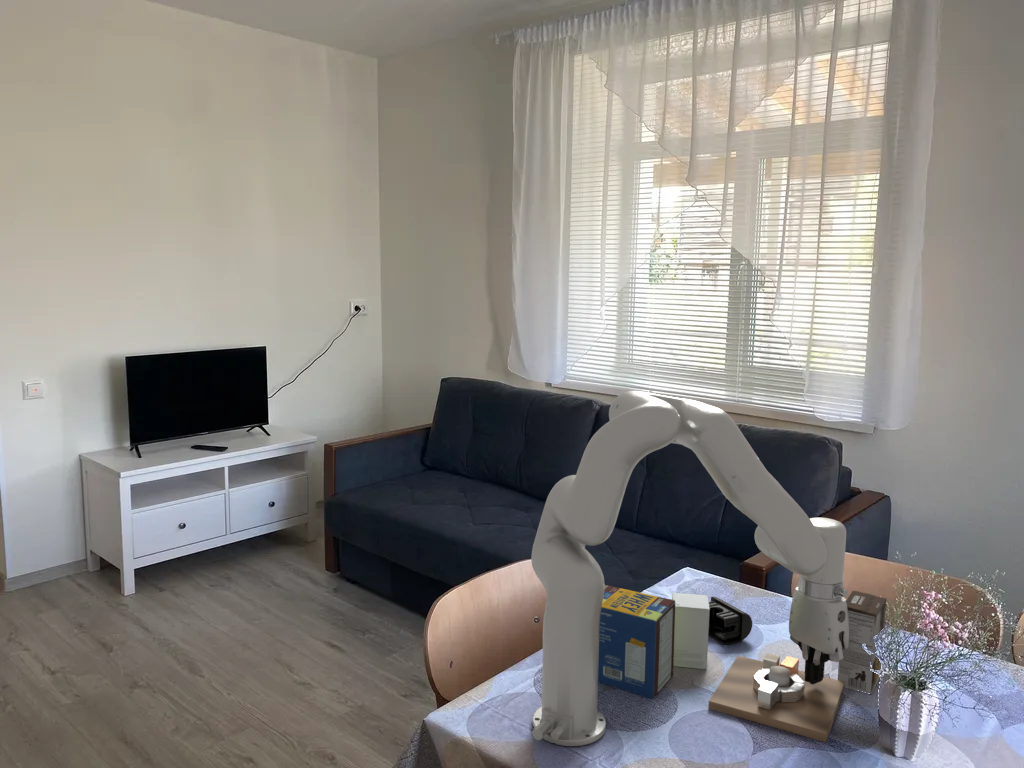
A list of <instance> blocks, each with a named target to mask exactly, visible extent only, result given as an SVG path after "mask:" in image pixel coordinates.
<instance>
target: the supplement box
mask: <svg viewBox="0 0 1024 768" xmlns="http://www.w3.org/2000/svg"><path fill="white" fill-rule="evenodd" d="M671 600H675V630H674V662H673V667H679V668H690V669H698V670H699V669H700V670H707V667H708V652H709V649H708V648H709V636H708V631H709V611H710V608H709V602H710V601H709V595H706V594H695V593H694V594H693V593H680V592H679V593H678V592H672V593H671Z"/></svg>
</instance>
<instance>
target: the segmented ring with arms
mask: <svg viewBox="0 0 1024 768" xmlns="http://www.w3.org/2000/svg"><path fill="white" fill-rule="evenodd" d="M799 661H800V659H799V658H796V657H792V656H788V655H786V657H785V658H784V659H783V660H782V661H781V663H779V666H782V667H785V668H787V669H788V670H789V671H790V680H789V687H781V688H780V687H778V684H777V683H774V682H770V681H769V669H761V670H759V671H758V672H757V673H756V674H755V675H754V682H753V688H754V689H755V690H756V691H757V692H758V705H757V706H758V707H761V708H764V709H767V710H770V709H771V708H772V707H773V706H774V704H775V703H776V702H779V701H781V702H782V703H785V702H797V700H798V701H799V700H800V699H801V698H802V696H803V695H804V688H805V684H804V681H803V680H802V679H801V678H800V677H799V676H798V670H799V665H800V662H799Z"/></svg>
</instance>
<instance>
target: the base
mask: <svg viewBox="0 0 1024 768" xmlns="http://www.w3.org/2000/svg"><path fill="white" fill-rule="evenodd" d="M780 659H781V656H780V655H777V654H773V653H769V652H766V654H765V656H764V658H763V661H762V660H758V659H754V658H749V657H747V656H746V657H745V656H742V655H737V657H736V658H735V659H734V661H733V663H732V664H731V666H730V667H729V669H728V671H727V672H725V673H726V674H725V676H724V677H723V678H722V679H721V681H720V682H719V684H718V686H717V688H716V689H715V691H714V692H713V694H712V696H710V699H709V700H708V709H709V710H712V711H715V712H719V713H722V714H726V715H730V716H733V717H736V718H739V719H743V720H748V721H750V722H753V723H754V722H755V723H757V724H761V725H764V726H767V727H771V728H774V729H775V728H776V729H778V730H782V731H785V732H788V733H791V734H796V735H798V736H801V737H807V738H809V739H813V740H817V741H819V742H823V743H827V741H828V739H829V736H830V733H831V729H832V726H833V723H834V720H835V718H836V714H837V712H838V709H839V706H840V703H841V700H842V697H843V694H844V690H845V687H844V684H845V682H843V681H839V680H838V679H834V678H830V677H826V676H824V677H823V680H822V681H821V682H818V683H816V684H813V685H812V684H810V683H809V682H807V681H805V671H803V670H799V669H798V676H799V677H800V678H801V679H802V680H803V681H804V684H805V688H804V695H803V696H802V698H801V699H800V700H799V701H798V700H797V702H785V703H782V702H781V701H779V702H776V703H775V704H774V706H773V707H772V708H771V709H770V710H767V709H764V708H761V707H758V706H757V705H758V692H757V691H756V690H755V689H754V688H753V682H754V675H755V674H756V673H757V672H758V671H759V670H761V669H769V681H770V682H774V683H777V684H778V687H780V688H781V687H789V680H790V671H789V670H788V669H787V668H785V667H782V666H780V662H781V661H780ZM839 702H840V703H839ZM838 705H839V706H838ZM837 708H838V709H837Z"/></svg>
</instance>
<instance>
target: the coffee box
mask: <svg viewBox="0 0 1024 768" xmlns="http://www.w3.org/2000/svg"><path fill="white" fill-rule="evenodd" d="M851 591H852V592H851V593H850V594H849V595H848V597H847V598H846V602H847V608H848V617H849V644H848V648H847V649H846V650H842V652H843V660H842V661H840V662H838V668H837V669H838V671H837V680H839V681H843V682H845V684H844V688H846V687H847V688H846V689H849V688H850V689H849V690H852V689H855V690H854V691H856V690H859V691H863V692H866V693H870V694H871V695H873V692H874V691H875V688H876V687H877V684H878V682H879V680H880V678H879V675H878V674H876V673H874V672H872V671H870V669H871V667H870V662H871V665H872V669H874V670H880V669H881V670H882V668H881V663H880V661H879V659H878V658H877V657H876V656H875V655H874V654H871V655H869V654H868V653H867V652H866V651H865V650H864V649H863V648H862V644H863V643H865V644H866V647H867V648H868V649H869V650H870V651H871V652H873V653H875V652H876V647H875V643H874V639H873V636H875V635H877V634H878V633H879V632H880V631H881V630H882V629H883V628H884V629H885V623H886V613H885V612H886V610H887V609H886V608H887V598H885V597H883V596H882V597H881V596H877V595H874V594H870V593H867V592H861V591H857V590H851ZM885 603H886V604H885ZM859 691H858V692H859ZM866 693H865V694H866Z"/></svg>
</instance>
